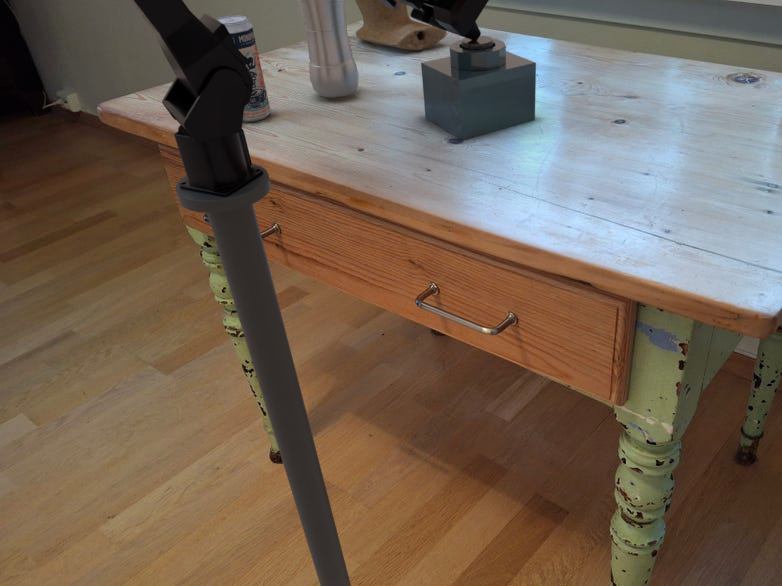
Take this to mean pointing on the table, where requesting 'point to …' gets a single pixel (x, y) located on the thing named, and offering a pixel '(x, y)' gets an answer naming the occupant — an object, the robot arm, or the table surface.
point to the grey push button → (477, 43)
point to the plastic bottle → (329, 48)
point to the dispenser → (479, 90)
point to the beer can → (249, 66)
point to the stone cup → (395, 27)
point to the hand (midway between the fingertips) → (477, 36)
